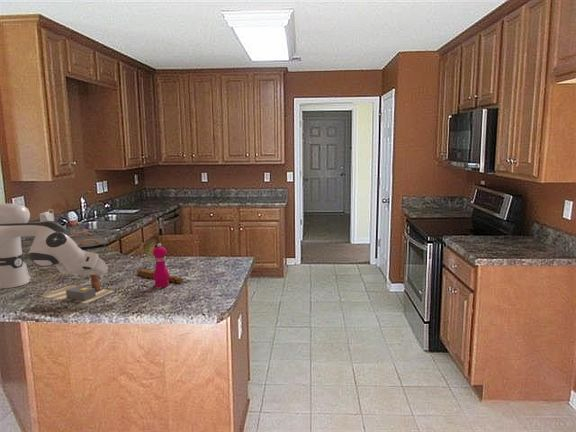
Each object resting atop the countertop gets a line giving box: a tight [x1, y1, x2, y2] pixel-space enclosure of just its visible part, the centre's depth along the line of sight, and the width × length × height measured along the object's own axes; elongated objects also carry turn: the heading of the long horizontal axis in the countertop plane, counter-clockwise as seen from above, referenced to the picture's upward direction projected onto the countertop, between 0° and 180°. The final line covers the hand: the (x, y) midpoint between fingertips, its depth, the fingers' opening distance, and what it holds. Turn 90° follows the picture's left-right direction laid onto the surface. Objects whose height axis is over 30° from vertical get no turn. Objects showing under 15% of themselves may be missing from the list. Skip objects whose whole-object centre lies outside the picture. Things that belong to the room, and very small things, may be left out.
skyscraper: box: [38, 208, 55, 222], centre depth 265 cm, size 8×8×28 cm
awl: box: [90, 275, 101, 292], centre depth 194 cm, size 3×3×13 cm
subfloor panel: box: [40, 284, 115, 304], centre depth 192 cm, size 26×16×1 cm, turn 68°
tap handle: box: [136, 269, 184, 285], centre depth 215 cm, size 3×3×30 cm
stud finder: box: [66, 285, 96, 301], centre depth 187 cm, size 10×6×4 cm, turn 69°
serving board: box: [69, 230, 108, 248], centre depth 295 cm, size 39×23×6 cm, turn 32°
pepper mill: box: [152, 243, 170, 288], centre depth 203 cm, size 7×7×20 cm
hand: (90, 276), depth 190 cm, fingers open, 8 cm apart
